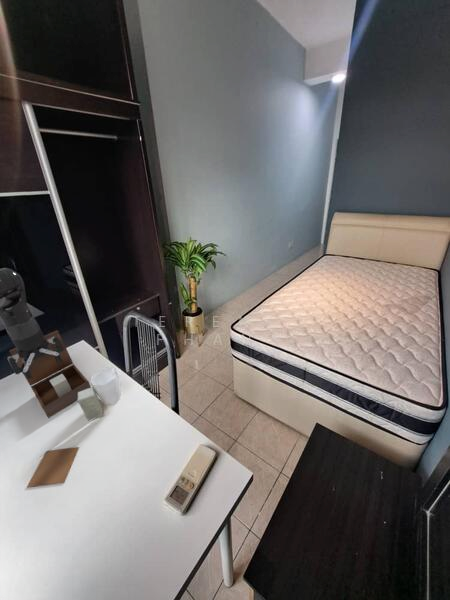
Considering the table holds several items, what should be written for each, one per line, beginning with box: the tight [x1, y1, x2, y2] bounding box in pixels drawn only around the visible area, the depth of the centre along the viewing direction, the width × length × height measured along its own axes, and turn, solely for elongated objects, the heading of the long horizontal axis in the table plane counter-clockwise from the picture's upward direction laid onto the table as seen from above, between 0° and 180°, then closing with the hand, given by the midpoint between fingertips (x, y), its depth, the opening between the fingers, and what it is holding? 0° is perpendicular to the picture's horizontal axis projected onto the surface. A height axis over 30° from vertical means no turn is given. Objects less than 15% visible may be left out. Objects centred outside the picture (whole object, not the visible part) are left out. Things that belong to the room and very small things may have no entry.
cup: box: [90, 367, 123, 406], centre depth 92 cm, size 9×9×12 cm
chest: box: [30, 363, 92, 419], centre depth 96 cm, size 16×16×6 cm
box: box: [76, 386, 105, 421], centre depth 86 cm, size 5×4×11 cm
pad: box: [26, 446, 80, 488], centre depth 74 cm, size 10×10×1 cm
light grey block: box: [49, 374, 71, 397], centre depth 95 cm, size 4×4×8 cm
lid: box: [9, 330, 74, 387], centre depth 97 cm, size 16×16×5 cm
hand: (45, 370), depth 84 cm, fingers open, 8 cm apart
